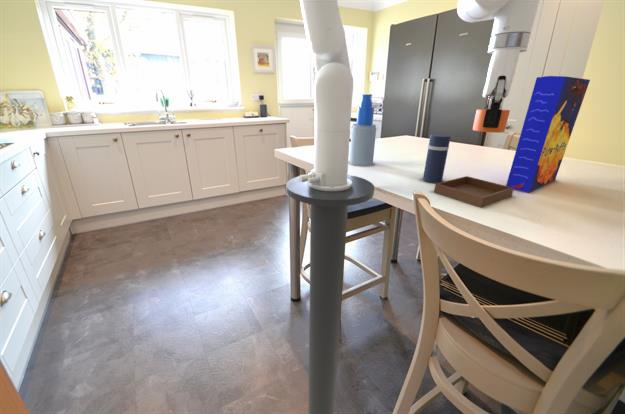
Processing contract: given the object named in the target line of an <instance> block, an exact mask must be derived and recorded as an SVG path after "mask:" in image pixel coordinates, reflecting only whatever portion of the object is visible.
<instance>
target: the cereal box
mask: <svg viewBox="0 0 625 414" xmlns="http://www.w3.org/2000/svg"><path fill="white" fill-rule="evenodd" d="M590 81H591V79H587V78H580V77H572V76H567V75H566V76H562V75H546V76H538V77H536V79H535V81H534V82H535V83H534V86H533V89H532V93H531V95H530V96H531V97H530V99H529V103H528V107H527V110H526V114H525V117H524V121H523V125H522V128H521V131H520V136H519V139H518V141H517V142H518V143H517V146H516V150H515V153H514V156H513V160H512V164H511V167H510V171H509V174H508V178H507V181H506V184H505V186H508V187H512V188H514V190H513V191H518V192H523V193H527V194H530V193H533V192H535V191H536V190H538V189H540V188H542V187H544V186H547V185H549V184H551V183H553V182H555V181H556V179H557V176H558V173H559V170H560V167H561V165H562V161H563V159H564V157H565V153H566V150H567V147H568V144H569V141H570V139H571V136H572V133H573V131H574V127H575V124H576V121H577V119H578V116H579V114H580V110H581V107H582V104H583V101H584V98H585V96H586V93H587V90H588V87H589V84H590Z"/></svg>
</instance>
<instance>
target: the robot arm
mask: <svg viewBox="0 0 625 414" xmlns="http://www.w3.org/2000/svg"><path fill="white" fill-rule="evenodd" d="M457 1H458V2H457V4H456V5H457V6H456V11H457V15H458V17H459V18H460V19H461V20H462V21H464V22H467V23H478V22H479V23H480V22H484V21H490V20H494V21H493V26H492V30H491V35H490V40H489V45H488V48H487V49H488V50H487V54H490V55H491V57H490V61H489V65H488V68H487V72H486V73H487V74H486V79H485V82H484V87H483V91H482V97H483V99H487V100H486V101H487V102H486V106H485V107H484V109H488V110H486V113H485V117H484V122H483V127H486V128H497V127H498V126H499V122H500V117H501V113H502V110H503V106H504V105H503V104H504V101H505V99H506V98H507V97H508V96H509V94H510V91H511V88H512V84H513V81H514V78H515V73H516V70H517V65H518V63H519V58H520V54H521V53H525V52H527V50H528V46H529V43H530V38H531V35H532V31H533V26H534V23H535V20H536V15H537V12H538V7H539V4H540V0H457ZM299 4H300V10H301V15H302V19H303V24H304V31H305V35H306V36H305V38H306V43H307V47H308V49H309V51H310V52H311V55H312V58H313V63H314V69H315V74H316V75H315V79H314V83H313V102H314V103H313V104H314V139H313V140H314V141H313V142H314V143H313V147H314V148H313V155H314V156H313V169H310V172H309V173H308V175H307V174H299V175H298V176H299V181H300V182H306V181H308V185H309V186H310V187H311V188H313V189H316V190H321V191H333V192H334V191H343V190H347V189H349V188H351V187H352V181H351V180H350V179H348V178H347V175H348V171H349V156H350V153H349V152H350V140H351V119H352V105H353V93H354V78H353V74H352V70H351V66H350V65H351V64H350V58H349V53H348V52H349V51H348V47H347V46H348V45H347V39H346V32H345V28H344V25H343V23H342V19H341V14H340V8H339V3H338V0H299Z"/></svg>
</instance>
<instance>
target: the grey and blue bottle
mask: <svg viewBox="0 0 625 414" xmlns="http://www.w3.org/2000/svg"><path fill="white" fill-rule="evenodd" d="M356 111H357V112H356V123H353V124H352V126H351V134H350V150H349V152H350V153H349V164H350V165H352V166H358V167H370V166H372V165H373V164H374V155H375V147H376V146H375V145H376V136H377V135H376V134H377V125H376V124H373V123H374V113H375V107H373V94H372V93H371V94H361V96H360V101H359V106H357V109H356Z"/></svg>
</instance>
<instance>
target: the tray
mask: <svg viewBox="0 0 625 414" xmlns="http://www.w3.org/2000/svg"><path fill="white" fill-rule="evenodd" d="M514 191H515V190H514V188H512V187H508V186H506V185H504V184H500V183H495V182H492V181H488V180H484V179H480V178H476V177H472V176H469V175H465V176H461V177H457V178H453V179H449V180H444V181H442V182H440V183H434V188H433V193H435V194H437V195H440V196H445V197H448V198H451V199H454V200H457V201H460V202H463V203H465V204H469V205H472V206H475V207H478V208H484V207H486V206H490V205H492V204H494V203H497V202H500V201H503V200H506V199H510V198H512V196H513V193H514Z"/></svg>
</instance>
